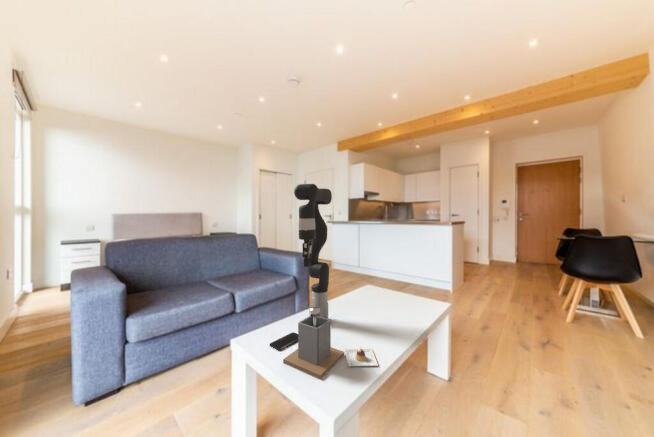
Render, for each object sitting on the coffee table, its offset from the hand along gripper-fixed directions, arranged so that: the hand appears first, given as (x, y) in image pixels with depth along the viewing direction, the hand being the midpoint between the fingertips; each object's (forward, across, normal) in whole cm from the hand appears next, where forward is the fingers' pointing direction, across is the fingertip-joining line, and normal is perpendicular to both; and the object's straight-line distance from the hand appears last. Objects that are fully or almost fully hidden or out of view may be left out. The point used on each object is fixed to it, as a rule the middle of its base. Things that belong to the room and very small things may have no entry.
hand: (307, 264), depth 107 cm
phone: (+38, -3, -11) cm, 39 cm away
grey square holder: (+37, +10, +3) cm, 39 cm away
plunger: (+33, +10, +3) cm, 35 cm away
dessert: (+38, +9, +22) cm, 45 cm away
